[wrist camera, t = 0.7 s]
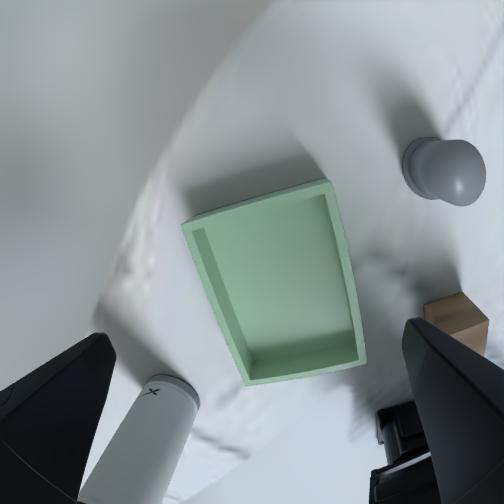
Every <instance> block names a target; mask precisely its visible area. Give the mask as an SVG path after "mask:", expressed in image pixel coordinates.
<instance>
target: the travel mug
mask: <svg viewBox="0 0 504 504" xmlns="http://www.w3.org/2000/svg"><path fill="white" fill-rule="evenodd" d="M199 407H200V400H199V397H198V395H197V393H196V392H195V391H194V390H193V389H192V388H191V387H190V386H189V385H188V384H186V383H185V382H183V381H181V380H180V379H177V378H175V377H172V376H167V375H157V376H153V377H151V378H150V379H149V380H148V381H147V383H146V384H145V386H144V387H143V390H142V391H141V392H140V394H139V395H138V397H137V399H136V400H135V402H134V403H133V405H132V407H131V408H130V410H129V412H128V413H127V415H126V416H125V418H124V420H123V421H122V423H121V424H120V426H119V428H118V429H117V431H116V433H115V434H114V436H113V438H112V439H111V441H110V442H109V444H108V446H107V447H106V449H105V451H104V452H103V454H102V456H101V457H100V459H99V461H98V462H97V464H96V466H95V467H94V469H93V471H92V472H91V474H90V476H89V477H88V479H87V481H86V482H85V484H84V486H83V488H82V489H81V491H80V493H79V497H78V499H77V504H161V503H162V501H163V498H164V496H165V493H166V491H167V488H168V486H169V483H170V481H171V478H172V476H173V473H174V471H175V468H176V466H177V463H178V461H179V458H180V455H181V453H182V450H183V448H184V445H185V443H186V440H187V438H188V435H189V433H190V430H191V427H192V425H193V422H194V420H195V417H196V415H197V412H198V410H199Z"/></svg>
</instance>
